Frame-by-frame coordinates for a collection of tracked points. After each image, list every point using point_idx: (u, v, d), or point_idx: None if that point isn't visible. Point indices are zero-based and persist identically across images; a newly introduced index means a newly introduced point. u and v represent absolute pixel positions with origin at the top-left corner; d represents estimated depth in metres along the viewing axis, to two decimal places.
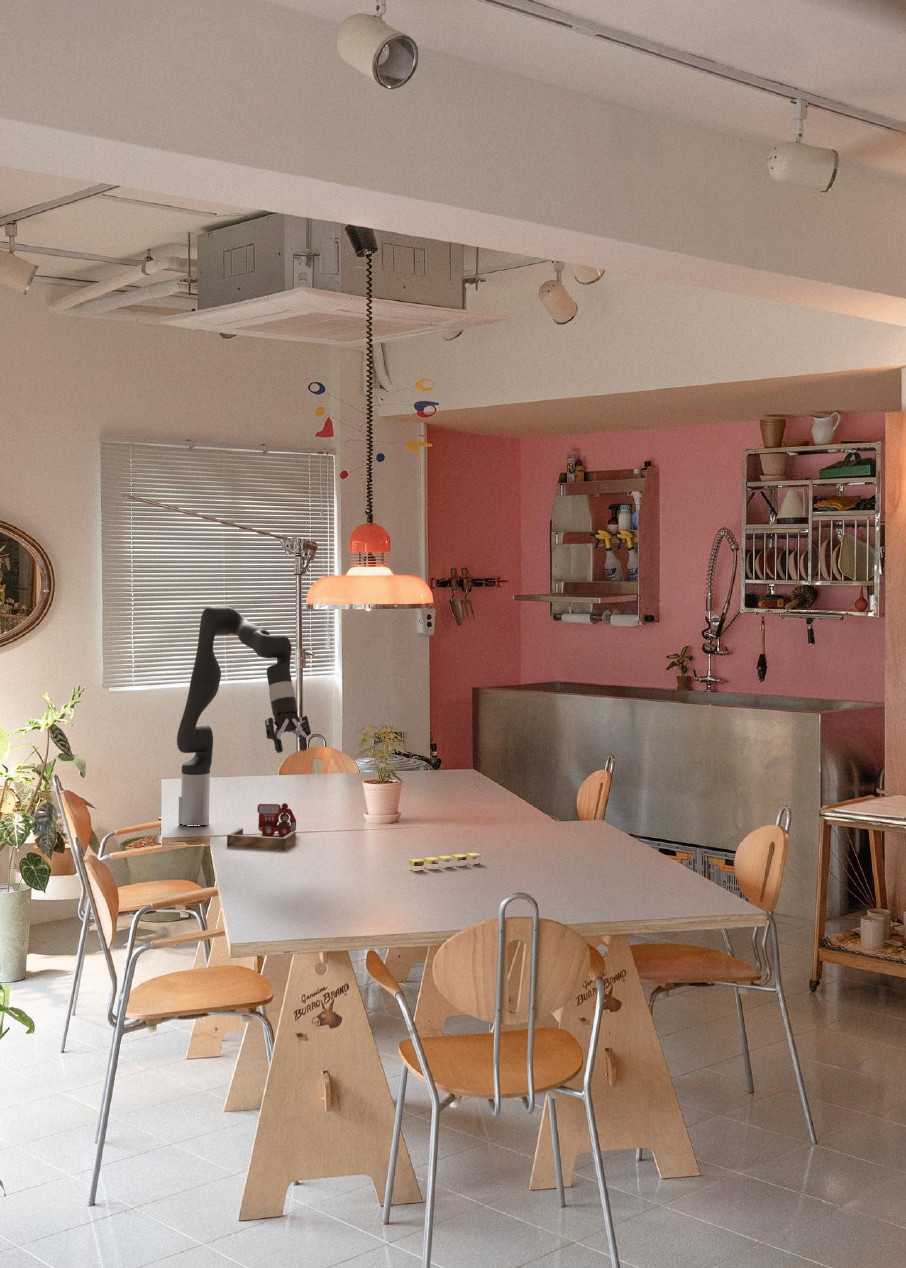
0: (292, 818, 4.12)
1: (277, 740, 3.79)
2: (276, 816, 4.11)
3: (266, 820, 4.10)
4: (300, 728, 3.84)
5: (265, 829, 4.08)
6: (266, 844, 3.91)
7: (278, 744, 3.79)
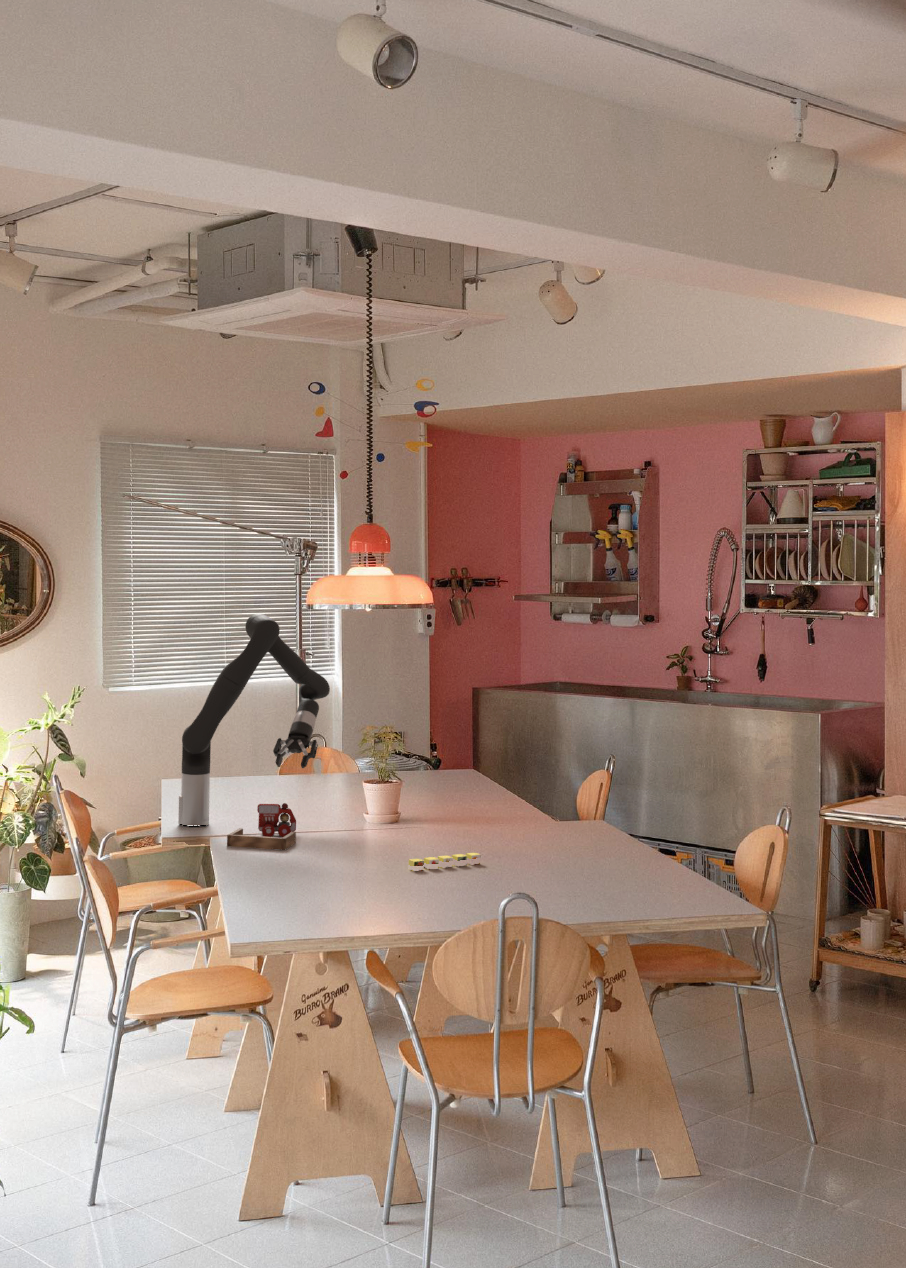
0: (292, 818, 4.12)
1: None
2: (276, 816, 4.11)
3: (266, 820, 4.10)
4: None
5: (265, 829, 4.08)
6: (266, 844, 3.91)
7: None
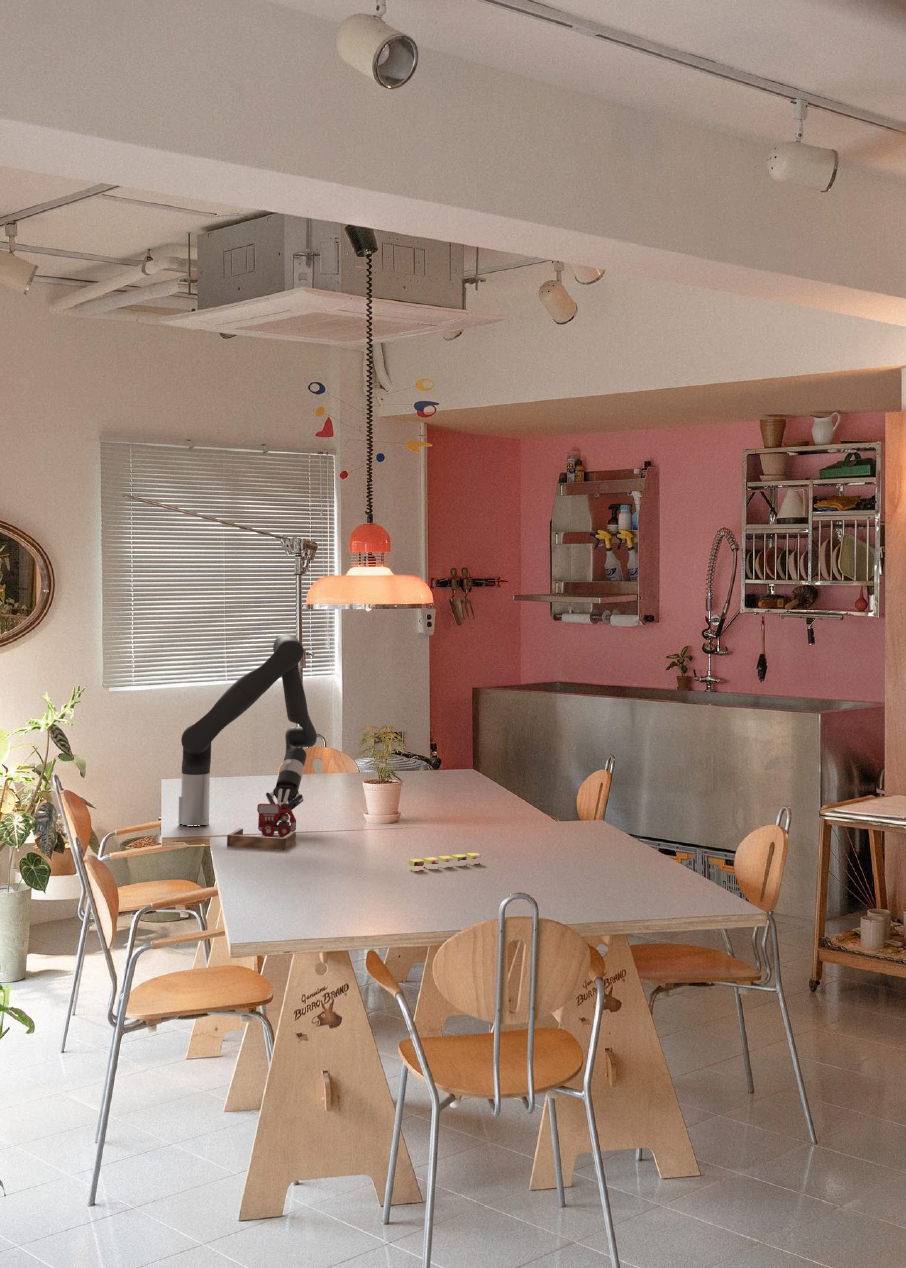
0: (292, 818, 4.11)
1: None
2: (276, 816, 4.10)
3: (266, 820, 4.10)
4: None
5: (265, 829, 4.07)
6: (266, 844, 3.91)
7: None
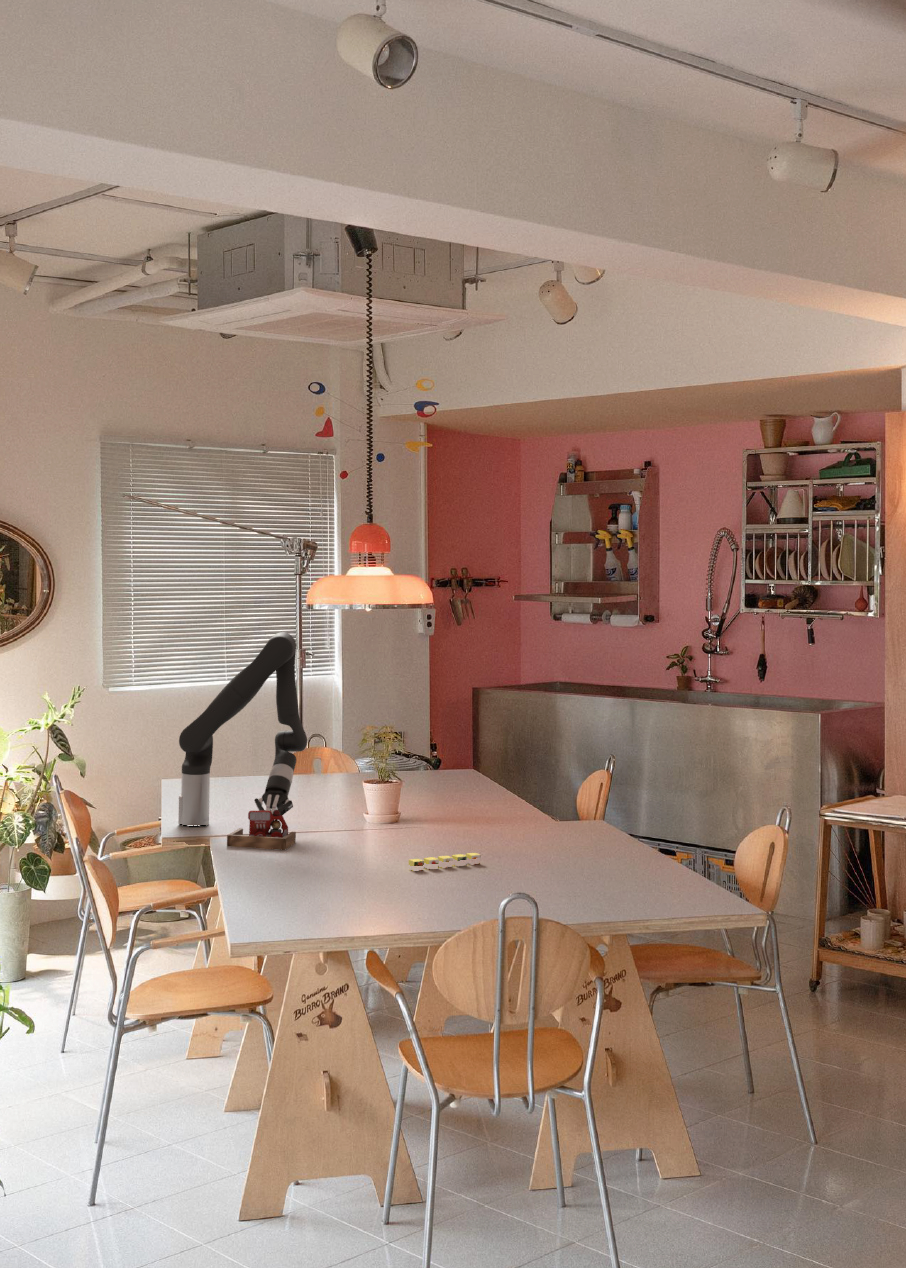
0: (284, 825, 4.00)
1: None
2: (268, 823, 3.99)
3: (257, 828, 3.98)
4: None
5: None
6: (266, 844, 3.91)
7: None
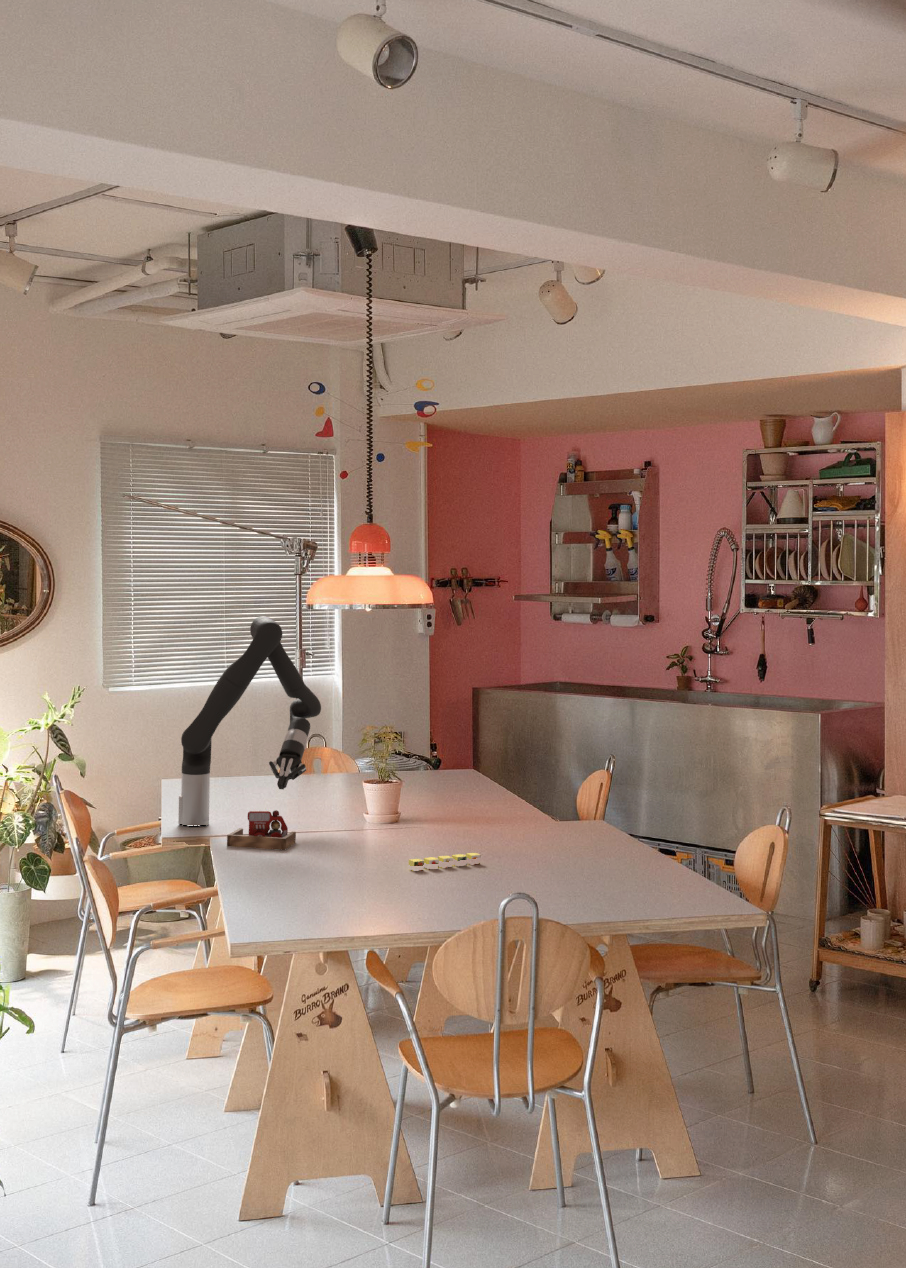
0: (283, 826, 3.99)
1: None
2: (267, 824, 3.98)
3: (257, 828, 3.97)
4: None
5: None
6: (266, 844, 3.91)
7: None
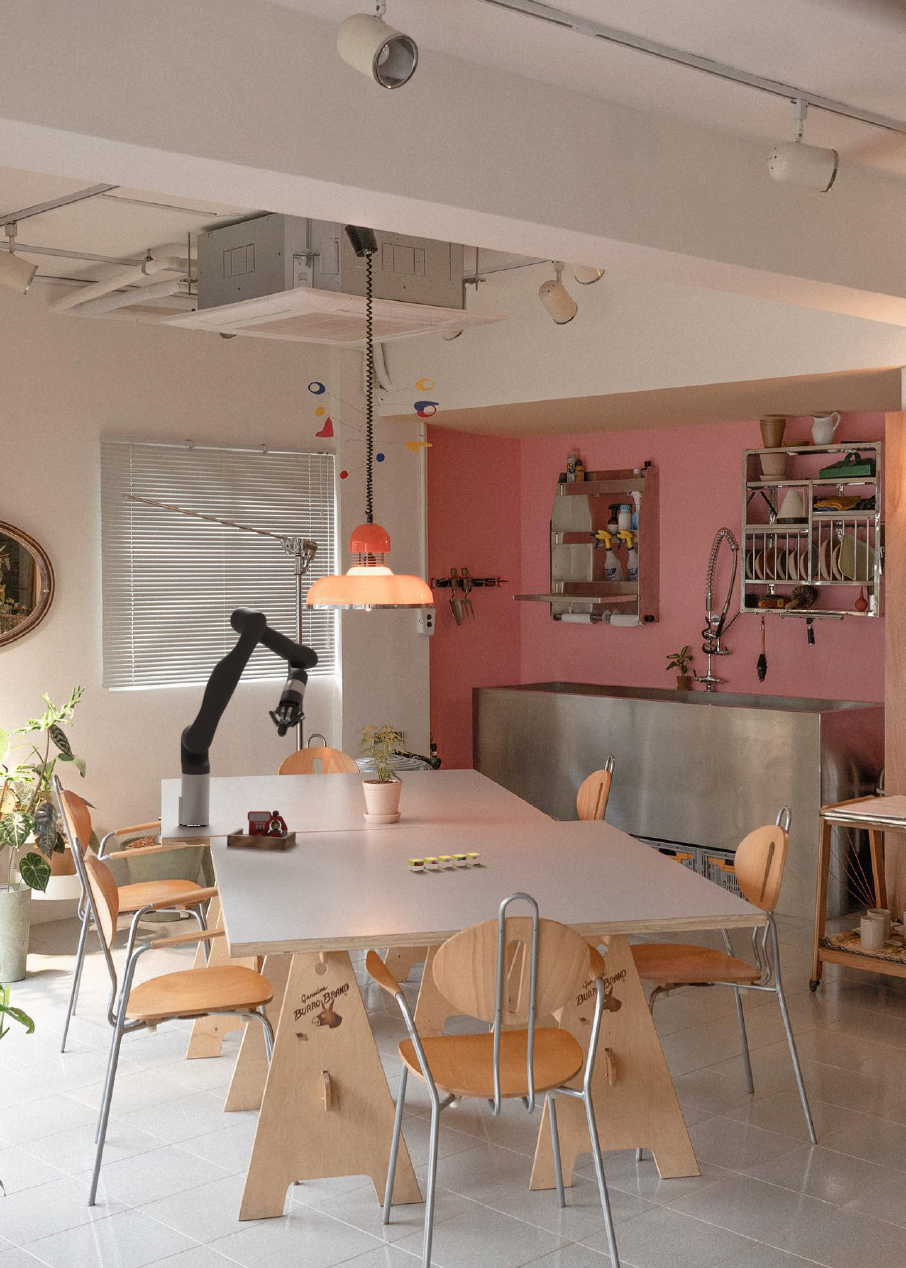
0: (283, 826, 3.99)
1: None
2: (267, 824, 3.98)
3: (257, 828, 3.97)
4: None
5: None
6: (266, 844, 3.91)
7: None
